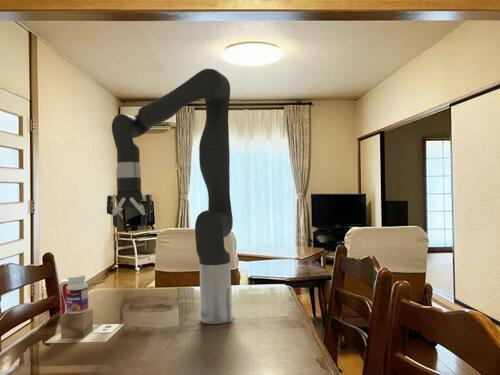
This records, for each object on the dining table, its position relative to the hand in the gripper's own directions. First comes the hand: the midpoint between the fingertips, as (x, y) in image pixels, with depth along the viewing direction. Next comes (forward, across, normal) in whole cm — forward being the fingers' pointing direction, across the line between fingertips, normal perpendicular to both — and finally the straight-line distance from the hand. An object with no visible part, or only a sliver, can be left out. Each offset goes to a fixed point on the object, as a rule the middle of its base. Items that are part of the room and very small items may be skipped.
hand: (130, 226), depth 133 cm
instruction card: (+27, +2, +18) cm, 32 cm away
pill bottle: (+21, +8, +22) cm, 31 cm away
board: (+28, +6, +21) cm, 36 cm away
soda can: (+28, +19, +3) cm, 34 cm away
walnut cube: (+27, +8, +22) cm, 36 cm away
